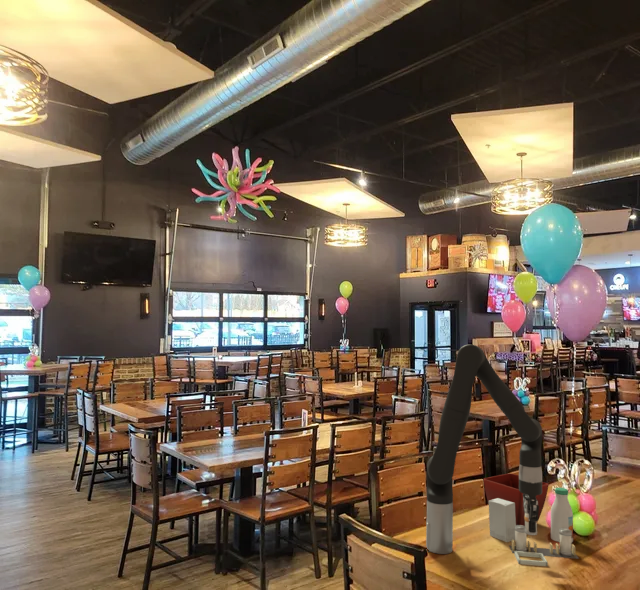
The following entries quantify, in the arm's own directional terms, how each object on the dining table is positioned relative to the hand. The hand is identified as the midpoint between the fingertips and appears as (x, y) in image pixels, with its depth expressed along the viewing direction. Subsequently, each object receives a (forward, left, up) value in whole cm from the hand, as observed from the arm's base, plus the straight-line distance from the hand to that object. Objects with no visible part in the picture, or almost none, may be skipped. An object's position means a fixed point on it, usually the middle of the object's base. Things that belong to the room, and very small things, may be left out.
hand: (530, 529), depth 189 cm
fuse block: (+6, +8, -12) cm, 16 cm away
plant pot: (+3, +43, -12) cm, 45 cm away
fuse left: (-2, +8, -10) cm, 13 cm away
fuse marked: (0, 0, -1) cm, 1 cm away
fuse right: (+13, +8, -10) cm, 19 cm away
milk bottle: (+16, +23, -12) cm, 30 cm away
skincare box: (-6, +20, -12) cm, 24 cm away
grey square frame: (0, 0, -12) cm, 12 cm away
